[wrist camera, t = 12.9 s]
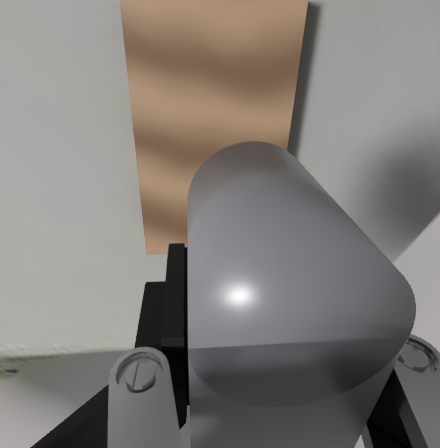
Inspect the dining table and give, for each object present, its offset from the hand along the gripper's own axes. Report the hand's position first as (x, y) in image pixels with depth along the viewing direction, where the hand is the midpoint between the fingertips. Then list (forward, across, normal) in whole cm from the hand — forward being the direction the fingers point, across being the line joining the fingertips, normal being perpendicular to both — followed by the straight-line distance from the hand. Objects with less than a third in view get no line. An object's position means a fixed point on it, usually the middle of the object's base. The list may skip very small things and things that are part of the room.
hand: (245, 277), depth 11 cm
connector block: (0, 0, +1) cm, 1 cm away
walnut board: (+17, 0, 0) cm, 17 cm away
